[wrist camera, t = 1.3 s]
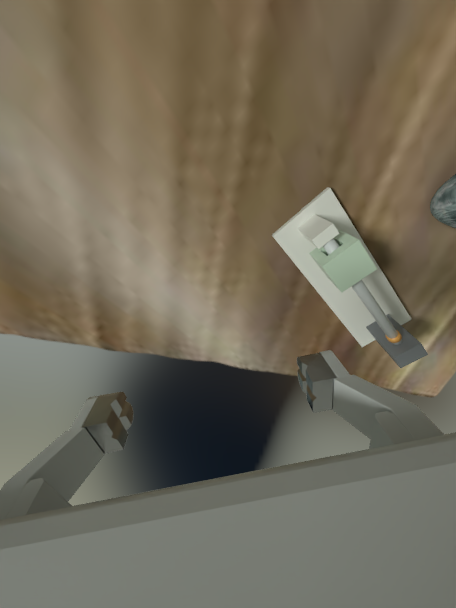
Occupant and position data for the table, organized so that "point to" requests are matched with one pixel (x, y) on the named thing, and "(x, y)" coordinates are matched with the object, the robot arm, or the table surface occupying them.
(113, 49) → the table surface
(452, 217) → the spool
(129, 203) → the table surface
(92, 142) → the table surface
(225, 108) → the table surface
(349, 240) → the sleeve
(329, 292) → the stand
